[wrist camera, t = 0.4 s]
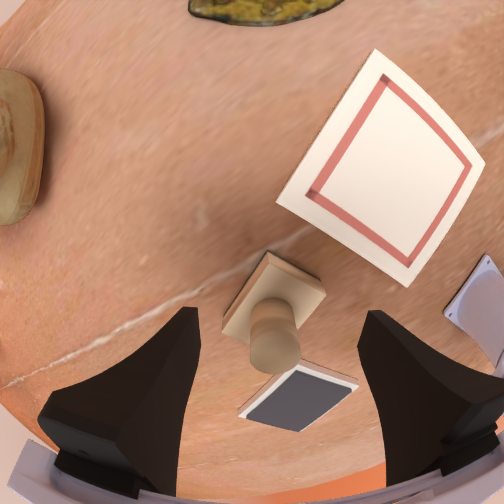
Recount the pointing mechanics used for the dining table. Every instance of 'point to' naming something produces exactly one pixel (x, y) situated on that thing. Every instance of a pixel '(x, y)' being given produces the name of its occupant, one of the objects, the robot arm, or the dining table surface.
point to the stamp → (273, 313)
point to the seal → (259, 10)
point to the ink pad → (298, 396)
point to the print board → (385, 172)
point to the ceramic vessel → (19, 145)
